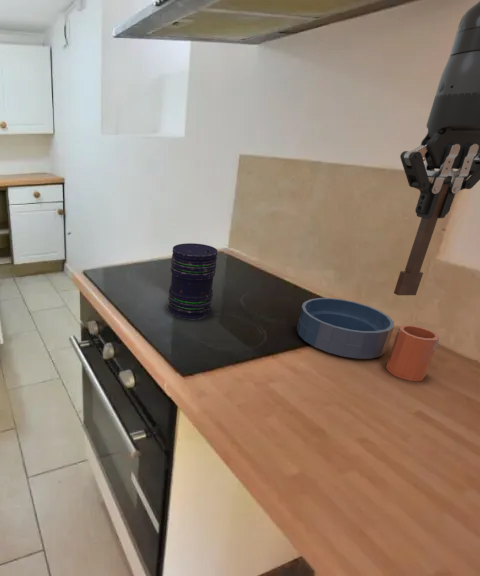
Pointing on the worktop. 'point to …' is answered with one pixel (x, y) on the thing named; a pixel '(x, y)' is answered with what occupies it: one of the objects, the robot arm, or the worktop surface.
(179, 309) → the storage jar
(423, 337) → the utensil holder
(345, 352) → the bowl
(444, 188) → the stirring stick
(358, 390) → the worktop surface
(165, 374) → the worktop surface
